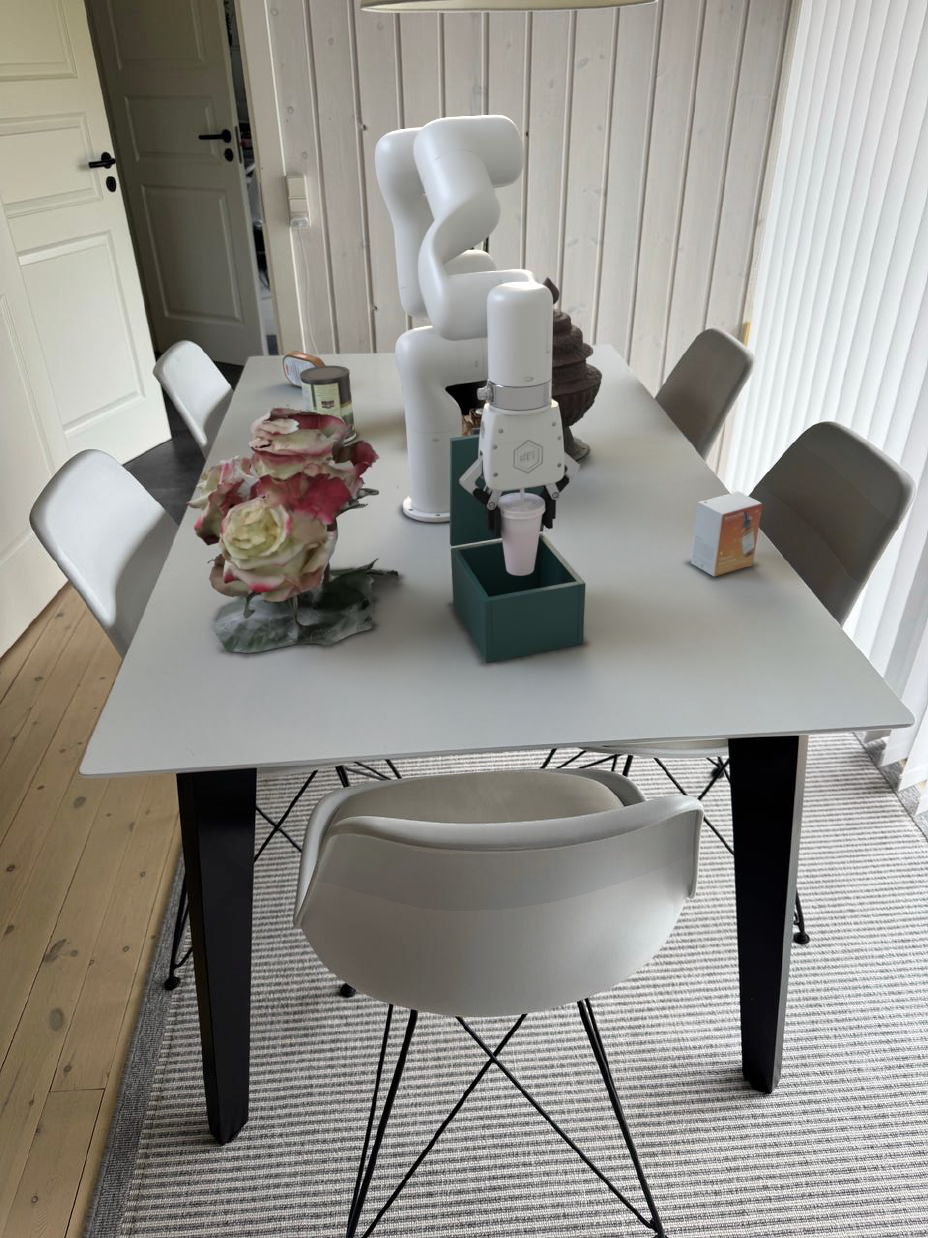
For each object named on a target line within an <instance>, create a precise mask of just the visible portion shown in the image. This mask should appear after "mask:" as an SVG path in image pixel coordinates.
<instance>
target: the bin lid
mask: <svg viewBox="0 0 928 1238" xmlns="http://www.w3.org/2000/svg"><path fill="white" fill-rule="evenodd" d="M480 427H481V426H479V427H472V428H470V431H469V434H470V435H462V437H455V438H450V521H449V545H450V547H451V548H453V547H459V546H465V545H471V544H477V543H483V542H489V541H495V540H501V539H502V535H501V536H500V537H497V538H495V537H494V535H493V534H492V533H491V531H490V530H487V528H486V526H485V508H484V504H483V503H481V502H480V501H479V500H477V499H476V498H475V497H474V496H473V495H472V494H470V493H469V492H468V491H467V490H466V489H465V488H463V487H462V485H461V484H460V483H459V479H460V478H461V477H462V476H463V474H464V473H465V472H466V471H467V470H468V469H469V468H470V467H471V466H472V465H473V463H474V462H475V461H476V460H477V459H478V452H479V436H480ZM475 484H476V485H477V486H479V487H480V488H481V489H483V490H484V488H485V485H486V482H485V479H482V478H481V477H480V476H479V477H478V479H477V480H476V481H475ZM543 490H544V489H543V487H542V486H536V487H530V488H524V493H530V494H535V495H537V496H539V495H540V494H541V492H543ZM511 493H520V489H517V490H510V491H502V493H501V496H500V497H502V496H504V495H507V494H511ZM544 529H545V526H544V525H543V524H542V523H541V526H540V533H543V532H544V531H545V530H544Z"/></svg>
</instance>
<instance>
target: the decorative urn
mask: <svg viewBox="0 0 928 1238" xmlns="http://www.w3.org/2000/svg"><path fill="white" fill-rule="evenodd" d="M541 284H542V285H544V286H546V287H547V288H548V289H549V290H550V291H551V294H552V297H553V306H554V305H555V304H557V303H558V301H559V299H560V291H559V288H557V286H556V284H554V283H553V281H552V280H551V279H550V278H549V277H548V276H546V278H545V279H544V280H543V282H542V283H541ZM593 354H594V348H593V347H592V346H591V345H590V344H588V343H586V342H584V334H583V331H582V330H581V328H580V327H578V326H576V325H575V324H573V323H572V318H571V315H570V314H568V313H567V312H565V311H563V310H560V309H558V308H554V307H553V337H552V399H553V400H554V401H556V402H557V403H558V405H559V410H560V416H561V422H562V431H563V442H564V452H565V453H566V454H567V455H569V456H570V457H571V458H572V459H573V460H575V461H576V462H577V463H579V462H581V461H583V460H584V459H585V458H587V456H588V455H590V454H591V451H592V450H591V446H590V445H589V444H587V443H586V442H583V441H582V439H579V438H578V437H576V436H574V435H573V432H572V430H571V427H572V426H574V425H575V424H576V423H578V422H579V421H580V420H581V419H583V418H584V416H585V415H586V413H587V412H588V411H589V410H590V409H591V408H592V407H593V405H594V403H595V400H596V397H597V396H598V394H599V392H600V388H601V385H602V379H603V374H602V372H601V370H599V369H598V368H597V367H596V366H595V365H592V364H589V363H587V359H588V358H589V357H591V356H593Z"/></svg>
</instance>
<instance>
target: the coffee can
mask: <svg viewBox="0 0 928 1238" xmlns="http://www.w3.org/2000/svg"><path fill="white" fill-rule="evenodd" d="M300 379H301V385H302V388H301V391H302V399H303V406H304V411H306V412H308V411H310V412H317V413H321V414H325V415H326V414H328V415H330V414H331V415H333V416H336V417H341V418H342V419H343V421H344V422H345V424H346V426H347V428H348V435H347V437H346V438H345V440H344V443H345V444H346V443H349V442H351V441H353V440H354V439H355V438H356V436H357V434H356V428H355V427H356V426H355V418H354V409H353V399H352V398H353V397H352V389H351V380H350V379H351V378H350V369H349V368H347V367H346V366H341V365H326V366H318V367H313V368H309V369H306V370H304V371H302V372H301V373H300Z"/></svg>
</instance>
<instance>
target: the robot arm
mask: <svg viewBox="0 0 928 1238" xmlns="http://www.w3.org/2000/svg"><path fill="white" fill-rule="evenodd" d="M524 165H525V147H524V141H523V138H522V135H521V133H520V131H519V128H518V127H517V125H516V124H515V122H514V121H513V120H512V119H510V118H509V117H508V116H504V115H502V114H488V115H486V114H485V115H470V116H468V115H467V116H449V117H442V118H437V119H433V120H432V121H430V122H428V123H427V124H425V125H424V126H422V127H411V128H404V129H397V130H393V131H391V132H387V133H386V134H384V135H383V136H381V137H380V139H378V141H377V142H376V145H375V150H374V170H375V175H376V180H377V184H378V187H379V190H380V194H381V196H382V199H383V201H384V203H385V206H386V208H387V211H388V213H389V216H390V219H391V224H392V227H393V228H392V229H393V234H394V250H395V263H396V271H397V274H396V275H397V284H398V285H397V286H398V293H399V299H400V303H401V307H402V309H403V311H404V312H405V314H407V315H408V316H409V317H413V318H416V319H417V318H418V319H429V321H430V324H431V325H426V326H419V327H415V328H414V327H413V328H411V329H409V330H406V331H405V332H403V333H402V334H401V335H400V336H399V337H397V340H396V343H395V347H394V357H395V364H396V368H397V372H398V376H399V381H400V386H401V391H402V398H403V407H404V408H403V409H404V419H405V420H404V421H405V431H406V445H407V447H406V448H407V449H406V450H407V461H408V476H409V477H408V478H409V491H410V494H409V495H408V496H407V497H405V499H404V500H403V502H402V510H403V513H404V514H405V515H406V516H407V517H409V518H410V519H412V520H416V521H419V522H425V523H446V522H450V438H455V437H462V436H463V421H462V420H463V417H462V410H461V408H460V406H459V403H458V402H457V400H455V398H454V397H453V396H452V395H451V394H449V392H448V391H446V388H447V387H450V386H455V385H461V384H469V383H477V382H482V381H483V382H484V381H486V384H485V386H482V388H481V387H480V388H477V390H476V395H477V399H478V401H482V400H483V401H487V403H485V404H484V406H483V410H482V415H481V420H480V426H479V427H480V436H479V452H478V459H477V460H476V461H475V462H474V463H473V465H472V466H471V467H470V468H469V469H468V470H467V471H466V472H465V473H464V474H463V476H462V477H461V478H460V479H459V483H460V484H461V485H462V487H463V488H465V489H466V490H467V491H468V492H469V493H470V494H472V495H473V496H474V497H475V498H476V499H477V500H479V501H480V502H481V503H483V504H484V508H485V526H486V528H487V530H490V531H491V533H492V534H493V535H494V537H495V538H497V537H500V536H501V511H500V508H499V507H498V506H497V503H498V501H499V498H500V496H501V493H502V491H510V490H517V489H523V488H530V487H536V486H542V487H543V489H544V490H543V492H541V494H540V495H539V496H540V497H541V498H543V499H544V501H545V512H544V513H543V514H542V520H541V523H542V524H543V525H544V528H545V529H548V530H550V529H551V530H552V529H554V527H553V526H554V520H555V519H556V517H557V516H556V515H557V500H559V498H560V497H561V492H562V491H563V490H564V489H565V488H566V487H567V486H568V485H569V483H570V480H571V479H573V477H574V476H575V475H576V474H577V473H578V472H579V470H580V469H581V465H580V463H579V462H576V461H575V460H573V459H572V458H571V457H570V456H569V455H567V454H566V453H565V452H564V442H563V431H562V422H561V416H560V410H559V405H558V403H557V402H556V401H554V400H553V399H552V337H553V308H554V305H553V297H552V294H551V291H550V290H549V289H548V288H547V287H546V286H544V285H542V284H543V283H541V282H540V280H539V278H538V277H537V275H536V274H535V273H533V272H532V271H530V270H528V269H522V268H521V269H520V268H515V269H505V270H498V268H497V265H496V262H495V260H494V259H493V257H492V256H491V254H489V253H488V252H486V251H484V250H481V249H473V248H474V247H476V246H477V245H479V244H481V243H482V242H484V241H485V240H486V239H488V238H489V237H490V235H491V234H492V233H493V232H495V229H496V228H497V227H498V224H499V222H500V219H501V214H502V212H501V211H502V210H501V204H500V200H499V197H498V195H497V193H496V191H495V189H498V188H504V187H509V186H510V185H513V184H514V183H516V182H517V181H518V180H519V178H520V177H521V175H522V173H523V169H524ZM479 476H480V477H481V478H482V479H485V482H486V485H485V488H484V490H483V489H481V488H480V487H479V486H477V485H476V484H475V481H476V480H477V479H478V477H479Z"/></svg>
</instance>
